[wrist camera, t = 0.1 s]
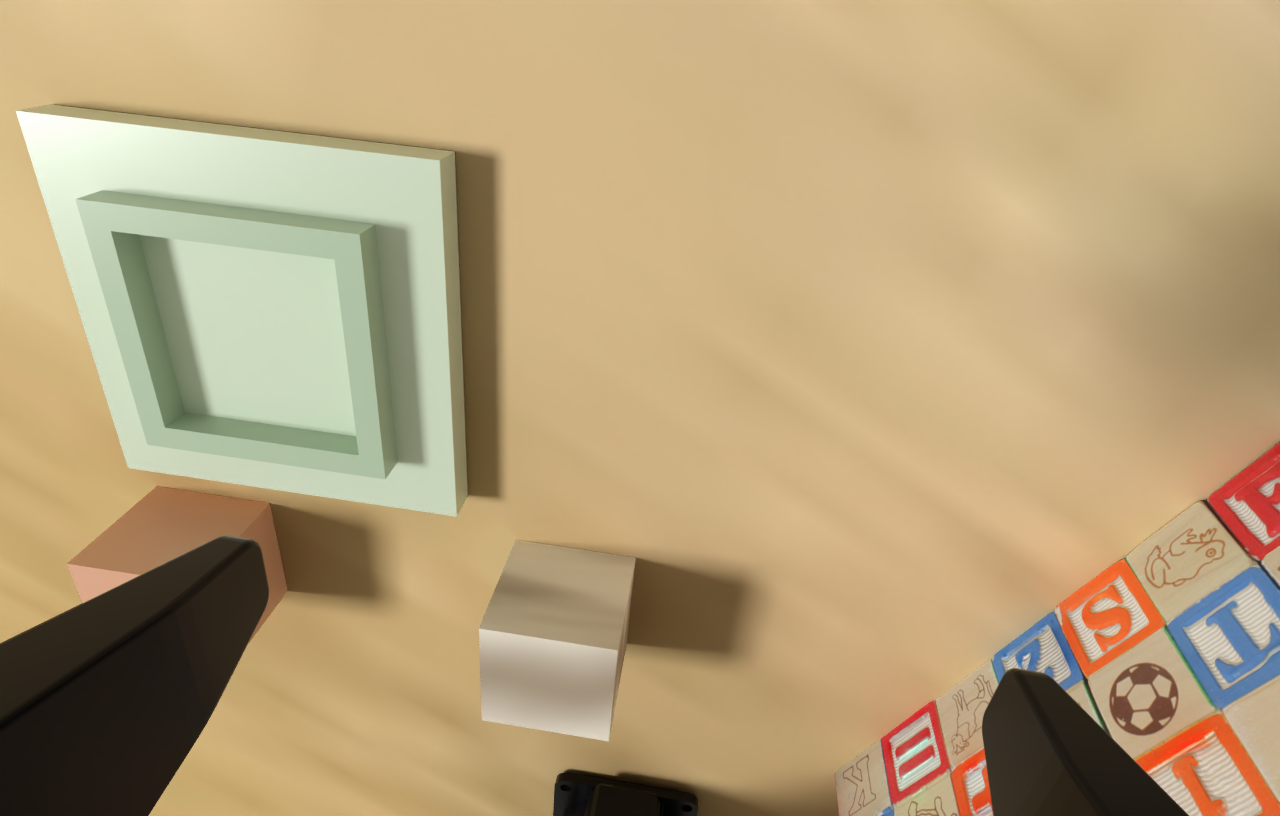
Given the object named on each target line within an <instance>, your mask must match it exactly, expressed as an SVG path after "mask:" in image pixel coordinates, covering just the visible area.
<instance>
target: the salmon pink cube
mask: <svg viewBox="0 0 1280 816" xmlns="http://www.w3.org/2000/svg"><path fill="white" fill-rule="evenodd" d="M221 536H234V537H240V538H246V539H252V540H254V541H257V542H258V544H259V545H260V546H261V549H262V554H263V559H264V564H265V569H266V575H267V580H268V585H269V599H268V603H267V606H266V609H265V611H264V613H263V615H262V617H261V619H260V621H259V623H258V625H257V627H256V629H255V631H254V633H253V635H252V637H251V639H252V638H253V637H254V635H255V634H256V633H257V631H258V630H259V629H260V627H261V626H262V625H263V623H264V622H265V621H266V619H267V618H268V617H269V615H270V614H271V613H272V611H273V610H274V609H275V607H276V606H277V605H278V603H279V602H280V601H281V599H282V598H283V596H284V595H285V594H286V592H287V591H288V590H287V585H286V580H285V575H284V570H283V565H282V560H281V555H280V551H279V546H278V541H277V536H276V531H275V526H274V521H273V516H272V511H271V506H270V503H266V502H259V501H252V500H246V499H239V498H232V497H226V496H219V495H212V494H206V493H199V492H192V491H186V490H179V489H172V488H165V487H159V486H157V487H155V488H154V489H153V490H152V491H151V492H150V493H148V494H147V495H146V496H145V497H144V498H143V499H142V500H140V501H139V502H138V503H137V504H136V505H135V506H133V507H132V508H131V509H130V510H129V511H128V512H126V513H125V514H124V515H123V516H122V517H121V518H120V519H118V520H117V521H116V522H115V523H114V524H113V525H111V526H110V527H109V528H108V529H107V530H106V531H104V532H103V533H102V534H101V535H100V536H99V537H97V538H96V539H95V540H94V541H93V542H92V543H91V544H89V545H88V546H87V547H86V548H85V549H84V550H82V551H81V552H80V553H79V554H78V555H77V556H75V557H74V558H73V559H72V560H71V561H70V562H69V563H67V565H68V568H69V570H70V573H71V575H72V578H73V580H74V583H75V585H76V588H77V591H78V593H79V596H80V598H81V601H82V603H84V602H86V601H88V600H90V599H92V598H94V597H96V596H99V595H101V594H103V593H105V592H107V591H109V590H111V589H113V588H115V587H117V586H119V585H121V584H123V583H125V582H127V581H129V580H131V579H133V578H135V577H138V576H140V575H142V574H144V573H146V572H148V571H150V570H152V569H154V568H156V567H158V566H160V565H162V564H164V563H166V562H168V561H170V560H172V559H175V558H177V557H179V556H181V555H183V554H185V553H187V552H189V551H191V550H193V549H195V548H197V547H199V546H201V545H203V544H205V543H207V542H209V541H211V540H214V539H216V538H218V537H221ZM251 639H250V641H251ZM250 641H249V642H250ZM249 642H248V643H249ZM247 645H248V644H247Z"/></svg>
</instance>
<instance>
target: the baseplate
mask: <svg viewBox="0 0 1280 816" xmlns="http://www.w3.org/2000/svg"><path fill="white" fill-rule="evenodd" d="M16 113H17V116H18V120H19V123H20V126H21V129H22V132H23V135H24V139H25V142H26V145H27V148H28V151H29V154H30V158H31V161H32V164H33V167H34V170H35V174H36V177H37V180H38V183H39V186H40V189H41V193H42V196H43V199H44V202H45V205H46V209H47V212H48V215H49V218H50V221H51V224H52V228H53V231H54V234H55V237H56V240H57V244H58V247H59V250H60V253H61V256H62V259H63V263H64V266H65V269H66V272H67V275H68V279H69V282H70V285H71V288H72V291H73V294H74V298H75V301H76V304H77V307H78V310H79V313H80V317H81V320H82V323H83V326H84V329H85V333H86V336H87V339H88V342H89V345H90V348H91V352H92V355H93V358H94V361H95V364H96V368H97V371H98V374H99V377H100V380H101V383H102V387H103V390H104V393H105V396H106V399H107V403H108V406H109V409H110V412H111V415H112V418H113V422H114V425H115V428H116V431H117V434H118V438H119V441H120V444H121V447H122V450H123V453H124V457H125V460H126V463H127V466H128V468H131V469H138V470H145V471H152V472H159V473H165V474H172V475H179V476H186V477H192V478H199V479H206V480H213V481H219V482H226V483H233V484H240V485H247V486H253V487H260V488H267V489H274V490H280V491H287V492H294V493H301V494H307V495H314V496H321V497H328V498H335V499H341V500H348V501H355V502H362V503H368V504H375V505H382V506H389V507H396V508H402V509H409V510H416V511H423V512H429V513H436V514H443V515H450V516H456V517H457V515H458V513H459V511H460V509H461V508H462V506H463V504H464V502H465V500H466V498H467V496H468V489H467V462H466V436H465V409H464V383H463V356H462V330H461V303H460V277H459V250H458V224H457V197H456V171H455V151H447V150H438V149H429V148H421V147H412V146H404V145H395V144H386V143H378V142H369V141H361V140H352V139H343V138H335V137H326V136H318V135H309V134H301V133H292V132H283V131H275V130H266V129H258V128H249V127H240V126H232V125H223V124H215V123H206V122H197V121H189V120H180V119H172V118H163V117H155V116H146V115H137V114H129V113H120V112H112V111H103V110H94V109H86V108H77V107H69V106H60V105H51V104H50V105H44V106H39V107H33V108H28V109H23V110H17V111H16Z"/></svg>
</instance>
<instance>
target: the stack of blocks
mask: <svg viewBox="0 0 1280 816" xmlns="http://www.w3.org/2000/svg"><path fill="white" fill-rule="evenodd" d="M1011 668H1019V669H1025V670H1031V671H1037V672H1042V673H1045V674H1047V675H1049V676H1050V677H1051V678H1053V679H1054V680H1055V681H1056V682H1057V683H1058V684H1059V685H1060V686H1061V687H1062V688H1063V689H1064V690H1065V691H1066V692H1067V693H1068V694H1069V695H1070V696H1071V697H1072V698H1073V699H1074V700H1075V701H1076V702H1077V703H1078V704H1079V705H1080V706H1081V707H1082V708H1083V709H1084V710H1085V711H1086V712H1087V713H1088V714H1089V715H1090V716H1091V717H1092V718H1093V719H1094V720H1095V721H1096V722H1097V723H1098V724H1099V725H1100V726H1101V727H1102V728H1103V729H1104V730H1105V731H1106V732H1107V733H1108V734H1109V735H1110V736H1111V737H1112V738H1113V739H1114V740H1115V741H1116V742H1117V743H1118V744H1119V745H1120V746H1121V747H1122V748H1123V749H1124V750H1125V751H1126V752H1127V753H1128V754H1129V755H1130V756H1131V757H1132V758H1133V759H1134V760H1135V761H1136V763H1137V764H1138V765H1139V766H1140V767H1141V768H1142V769H1143V770H1144V771H1145V772H1146V773H1147V774H1148V775H1149V776H1150V777H1151V778H1152V779H1153V780H1154V781H1155V782H1156V783H1157V784H1158V785H1159V786H1160V787H1161V788H1162V789H1163V790H1164V791H1165V792H1166V793H1167V794H1168V795H1169V796H1170V797H1171V798H1172V799H1173V800H1174V801H1175V802H1176V803H1177V804H1178V805H1179V806H1180V807H1181V808H1182V809H1183V810H1184V811H1185V812H1186V813H1187V814H1188V815H1189V816H1280V442H1279V443H1278V444H1277V445H1275V446H1274V447H1273V448H1271V449H1270V450H1269V451H1267V452H1266V453H1265V454H1264V455H1262V456H1261V457H1260V458H1258V459H1257V460H1256V461H1255V462H1253V463H1252V464H1251V465H1249V466H1248V467H1247V468H1246V469H1244V470H1243V471H1242V472H1240V473H1239V474H1238V475H1236V476H1235V477H1234V478H1232V479H1231V480H1230V481H1228V482H1227V483H1226V484H1224V485H1223V486H1222V487H1221V488H1220V489H1218V490H1217V491H1215V492H1214V493H1212V494H1211V495H1210V496H1209V498H1208V499H1207V500H1206V501H1199V502H1196V503H1195V504H1193V505H1192V506H1191V507H1189V508H1188V509H1186V510H1185V511H1184V512H1182V513H1181V514H1180V515H1178V516H1177V517H1176V518H1174V519H1173V520H1172V521H1170V522H1169V523H1168V524H1166V525H1165V526H1163V527H1162V528H1161V529H1159V530H1158V531H1157V532H1155V533H1154V534H1153V535H1151V536H1150V537H1149V538H1147V539H1146V540H1145V541H1143V542H1142V543H1141V544H1140V545H1138V546H1137V547H1136V548H1135V549H1134V550H1132V551H1131V552H1130V553H1129V554H1128V556H1127V557H1126V558H1125V559H1122V560H1119V561H1118V562H1116V563H1115V564H1113V565H1112V566H1110V567H1109V568H1107V569H1106V570H1105V571H1103V572H1102V573H1101V574H1100V575H1098V576H1097V577H1096V578H1094V579H1093V580H1092V581H1090V582H1089V583H1087V584H1086V585H1085V586H1083V587H1082V588H1080V589H1079V590H1078V591H1076V592H1075V593H1074V594H1072V595H1071V596H1070V597H1068V598H1067V599H1066V600H1064V601H1063V602H1062V603H1060V604H1059V605H1058V606H1056V608H1055V611H1054V612H1052V613H1050V614H1048V615H1047V616H1046V617H1044V618H1043V619H1041V620H1040V621H1039V622H1038V623H1036V624H1035V625H1034V626H1033V627H1031V628H1030V629H1029V630H1027V631H1026V632H1024V633H1023V634H1022V635H1020V636H1019V637H1018V638H1017V639H1015V640H1014V641H1012V642H1011V643H1010V644H1008V645H1007V646H1006V647H1005V648H1003V649H1002V650H1000V651H999V652H998V653H996V654H995V655H994V656H993V658H992V659H991V660H989V661H987V662H985V663H984V664H983V665H981V666H980V667H979V668H977V669H976V670H975V671H973V672H972V673H971V674H969V675H968V676H967V677H965V678H964V679H963V680H961V681H960V682H959V683H957V684H956V685H955V686H953V687H952V688H951V689H949V690H948V691H947V692H945V693H944V694H943V695H942V696H940V697H939V698H938V699H937V700H935V701H932V702H930V703H928V704H927V705H926V706H924V707H923V708H922V709H920V710H919V711H918V712H916V713H915V714H914V715H912V716H911V717H910V718H908V719H907V720H906V721H904V722H903V723H902V724H900V725H899V726H898V727H896V728H895V729H894V730H892V731H891V732H890V733H888V734H887V735H886V736H884V737H883V738H882V739H881V740H879V741H877V742H875V743H874V744H873V745H871V746H870V747H869V748H867V749H866V750H865V751H863V752H862V753H861V754H859V755H858V756H857V757H855V758H854V759H853V760H851V761H850V762H849V763H847V764H846V765H845V766H843V767H842V768H841V769H839V770H838V771H837V772H836V773H835V783H836V792H837V799H838V809H839V816H993V811H992V803H991V796H990V788H989V781H988V774H987V766H986V759H985V752H984V744H983V737H982V720H983V716H984V712H985V710H986V708H987V706H988V704H989V702H990V700H991V698H992V696H993V694H994V692H995V690H996V688H997V687H998V685H999V683H1000V681H1001V679H1002V677H1003V675H1004V674H1005V672H1006V671H1008V670H1009V669H1011Z"/></svg>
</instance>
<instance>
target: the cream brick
mask: <svg viewBox="0 0 1280 816" xmlns="http://www.w3.org/2000/svg"><path fill="white" fill-rule="evenodd" d="M635 561H636V558H635V557H629V556H622V555H615V554H608V553H602V552H595V551H588V550H582V549H575V548H568V547H561V546H555V545H548V544H541V543H535V542H528V541H521V540H515V543H514V545H513V547H512V550H511V552H510V555H509V557H508V560H507V562H506V564H505V567H504V569H503V572H502V574H501V576H500V579H499V581H498V584H497V586H496V588H495V591H494V593H493V596H492V598H491V601H490V603H489V605H488V608H487V610H486V613H485V615H484V617H483V620H482V622H481V625H480V627H479V646H480V678H481V709H482V720H484V721H490V722H496V723H502V724H508V725H514V726H520V727H526V728H532V729H538V730H544V731H550V732H556V733H562V734H568V735H574V736H580V737H586V738H592V739H598V740H604V741H609V737H610V732H611V726H612V721H613V715H614V710H615V704H616V699H617V693H618V688H619V683H620V677H621V672H622V666H623V661H624V655H625V650H626V644H627V635H628V626H629V617H630V608H631V598H632V589H633V580H634V571H635Z"/></svg>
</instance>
